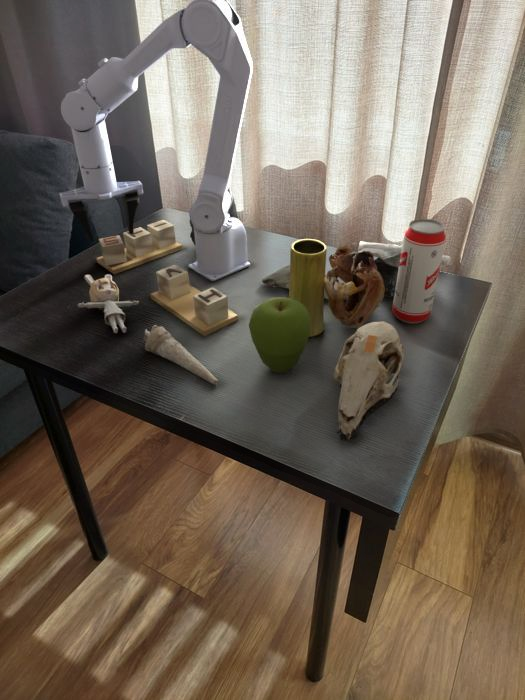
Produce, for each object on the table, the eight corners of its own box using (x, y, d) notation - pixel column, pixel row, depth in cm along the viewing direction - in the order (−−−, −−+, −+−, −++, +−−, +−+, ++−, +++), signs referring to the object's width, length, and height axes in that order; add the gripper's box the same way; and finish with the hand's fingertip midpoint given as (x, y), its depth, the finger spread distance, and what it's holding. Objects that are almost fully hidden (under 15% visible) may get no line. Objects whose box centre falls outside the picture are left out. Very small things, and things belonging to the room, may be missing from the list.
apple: (297, 345, 82) (299, 280, 75) (318, 378, 75) (322, 310, 68) (243, 356, 79) (240, 291, 73) (261, 391, 73) (259, 323, 66)
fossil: (328, 298, 86) (262, 261, 93) (322, 321, 89) (258, 283, 96) (365, 280, 93) (301, 247, 101) (358, 302, 96) (296, 268, 103)
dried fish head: (396, 329, 77) (372, 266, 74) (341, 348, 80) (315, 287, 77) (393, 285, 96) (373, 233, 92) (348, 301, 99) (327, 251, 95)
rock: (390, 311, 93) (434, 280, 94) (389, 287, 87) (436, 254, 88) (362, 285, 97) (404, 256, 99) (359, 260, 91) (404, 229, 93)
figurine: (358, 249, 99) (456, 263, 96) (361, 229, 99) (459, 243, 96) (356, 262, 106) (448, 275, 102) (360, 243, 106) (451, 256, 103)
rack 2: (151, 298, 94) (146, 273, 91) (183, 285, 97) (180, 260, 94) (204, 336, 84) (201, 309, 81) (238, 319, 88) (236, 293, 85)
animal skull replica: (309, 433, 66) (313, 372, 60) (352, 358, 78) (358, 301, 72) (372, 454, 63) (382, 392, 57) (406, 373, 75) (418, 315, 69)
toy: (89, 322, 80) (68, 264, 89) (85, 347, 83) (66, 289, 92) (153, 318, 85) (127, 264, 94) (148, 342, 89) (123, 287, 97)
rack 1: (164, 238, 114) (161, 216, 110) (182, 249, 109) (180, 226, 106) (97, 262, 105) (91, 238, 102) (114, 274, 101) (109, 250, 98)
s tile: (102, 257, 104) (98, 238, 102) (122, 253, 106) (119, 234, 103) (106, 265, 102) (102, 246, 99) (126, 261, 103) (123, 242, 100)
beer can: (432, 310, 89) (451, 221, 79) (425, 329, 84) (444, 237, 75) (396, 302, 91) (410, 214, 82) (387, 320, 87) (401, 230, 77)
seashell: (153, 318, 82) (225, 333, 73) (158, 359, 85) (229, 378, 76) (132, 326, 79) (204, 343, 70) (138, 368, 82) (209, 389, 73)
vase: (304, 312, 89) (306, 234, 80) (332, 326, 85) (338, 246, 77) (279, 327, 85) (279, 246, 77) (307, 342, 82) (310, 260, 73)
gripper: (56, 176, 87) (75, 251, 95) (142, 164, 92) (153, 236, 100) (51, 164, 92) (70, 236, 101) (133, 153, 97) (144, 222, 105)
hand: (110, 235), depth 101 cm, fingers open, 7 cm apart
